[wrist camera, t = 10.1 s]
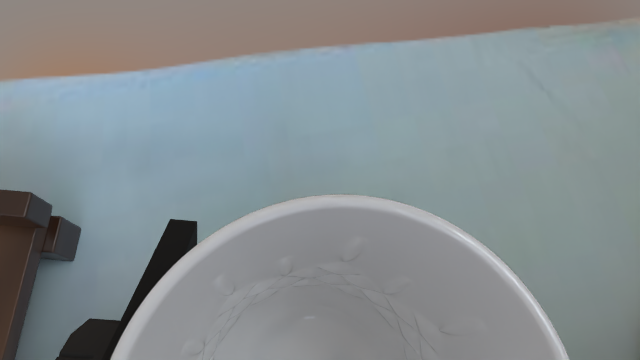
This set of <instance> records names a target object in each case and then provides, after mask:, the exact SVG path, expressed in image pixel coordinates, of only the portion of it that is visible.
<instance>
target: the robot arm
mask: <svg viewBox="0 0 640 360" xmlns="http://www.w3.org/2000/svg"><path fill="white" fill-rule="evenodd" d="M196 245H197V221H186V220H175V219H170V221H169V223H168V225H167V227H166V229H165V231H164V233H163V235H162V237H161V239H160V241H159V243H158V245H157V247H156V249H155V251H154V253H153V256H152V258H151V260H150V262H149V264H148V266H147V268H146V270H145V272H144V274H143V276H142V278H141V280H140V282H139V284H138V286H137V288H136V290H135V292H134V294H133V296H132V298H131V300H130V302H129V305H128V307H127V309H126V311H125V313H124V315H123V317H122V319H121V321H116V320H103V319H89V320H87V321H86V322H85V323H84V324H83V325H81V326H80V327H79V328H78V329H77V330H75V331H74V332H73V333H72V334H71V335H70V337H69V338H68V340H67V342H66V343H65V345H64V347H63V348H62V350H61V352H60V355H59V357H57V358H56V360H110V359H111V357H112V354H113V352H114V350H115V348H116V346H117V344H118V342H119V340H120V338H121V336H122V334H123V332H124V330H125V329H126V327H127V325H128V323H129V322H130V320H131V318H132V317H133V315H134V314H135V312H136V311H137V309H138V308H139V306H140V305H141V303H142V302H143V300H144V299H145V298H146V296H147V295H148V294H149V292H150V291H151V290H152V289H153V287H154V286H155V285H156V284H157V283H158V281H159V280H160V279H161V278H162V277H163V276H164V275H165V274H166V273H167V272H168V270H169V269H170V268H171V267H172V266H173V265H174V264H176V263H177V262H178V261H179V260H180V259H181V258H182V257H183V256H184V255H185V254H186V253H188V252H189V251H190V250H191V249H192V248H194V247H195V246H196Z"/></svg>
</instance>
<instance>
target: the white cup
mask: <svg viewBox="0 0 640 360" xmlns="http://www.w3.org/2000/svg"><path fill="white" fill-rule="evenodd" d="M110 360H570V359H569V357H568V354H567V352H566V350H565V348H564V346H563V344H562V341H561V339H560V338H559V336H558V334H557V332H556V330H555V328H554V326H553V325H552V323H551V321H550V320H549V318H548V316H547V315H546V313H545V312H544V310H543V309H542V307H541V306H540V304H539V303H538V301H537V300H536V298H535V297H534V296H533V294H532V293H531V292H530V291H529V289H528V288H527V287H526V286H525V284H524V283H523V282H522V281H521V280H520V278H519V277H518V276H517V275H516V274H515V273H514V272H513V271H512V270H511V269H510V268H509V267H508V266H507V265H506V264H505V263H504V262H503V261H502V260H501V259H500V258H499V257H498V256H497V255H496V254H494V253H493V252H492V251H491V250H490V249H488V248H487V247H486V246H485V245H483V244H482V243H481V242H479V241H478V240H477V239H475V238H474V237H473V236H471V235H470V234H468V233H467V232H465V231H463V230H462V229H460V228H459V227H457V226H455V225H453V224H452V223H450V222H448V221H446V220H444V219H442V218H440V217H438V216H436V215H434V214H431V213H429V212H427V211H424V210H422V209H419V208H416V207H413V206H410V205H407V204H404V203H400V202H397V201H393V200H388V199H383V198H378V197H372V196H364V195H350V194H331V195H318V196H309V197H303V198H298V199H293V200H288V201H284V202H281V203H277V204H274V205H271V206H268V207H265V208H262V209H259V210H257V211H254V212H252V213H250V214H247V215H245V216H243V217H241V218H239V219H237V220H235V221H233V222H231V223H229V224H228V225H226V226H224V227H222V228H221V229H219V230H218V231H216V232H214V233H213V234H211V235H210V236H208V237H207V238H206V239H204V240H203V241H201V242H200V243H199V244H197V245H196V246H195V247H194V248H192V249H191V250H190V251H189V252H188V253H186V254H185V255H184V256H183V257H182V258H181V259H180V260H179V261H178V262H177V263H176V264H174V265H173V266H172V267H171V268H170V269H169V270H168V272H167V273H166V274H165V275H164V276H163V277H162V278H161V279H160V280H159V281H158V283H157V284H156V285H155V286H154V287H153V289H152V290H151V291H150V292H149V294H148V295H147V296H146V298H145V299H144V300H143V302H142V303H141V305H140V306H139V308H138V309H137V311H136V312H135V314H134V315H133V317H132V318H131V320H130V322H129V323H128V325H127V327H126V329H125V330H124V332H123V334H122V336H121V338H120V340H119V342H118V344H117V346H116V348H115V350H114V352H113V354H112V357H111V359H110Z"/></svg>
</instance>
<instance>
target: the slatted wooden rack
mask: <svg viewBox="0 0 640 360" xmlns="http://www.w3.org/2000/svg"><path fill="white" fill-rule="evenodd" d="M51 213H52V205H50V204H49V203H47V202H46V201H44V200H42V199H41V198H39V197H38V196H36V195H34V194H33V193H31V192H22V191H11V190H0V360H14V359H15V355H16V351H17V347H18V343H19V340H20V336H21V332H22V328H23V324H24V320H25V316H26V312H27V308H28V304H29V300H30V296H31V292H32V288H33V284H34V280H35V276H36V272H37V268H38V264H39V260H40V258H42V259H54V260H67V261H73V260H74V257H75V253H76V249H77V244H78V240H79V236H80V231H81V228H80V227H78V226H76V225H75V224H73V223H71V222H70V221H68V220H66V219H65V218H63V217H61V216H51Z"/></svg>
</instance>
